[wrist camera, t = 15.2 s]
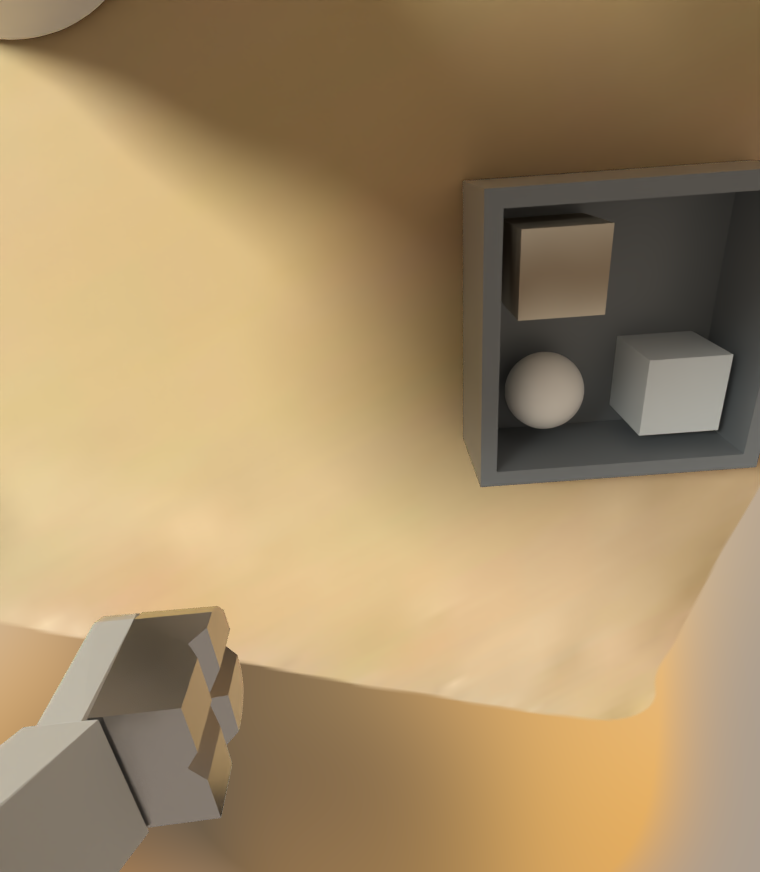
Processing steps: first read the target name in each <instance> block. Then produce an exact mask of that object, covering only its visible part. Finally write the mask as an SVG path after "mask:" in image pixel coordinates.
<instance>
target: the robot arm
mask: <svg viewBox="0 0 760 872" xmlns="http://www.w3.org/2000/svg"><path fill="white" fill-rule="evenodd" d="M103 1H105V0H0V39H7V40H13V39H28V38H35V37H40V36H44V35H48V34H51V33H54V32H57V31H60V30H62V29H64V28H67V27H69V26H71V25H73V24H74V23H76V22H78V21H80V20H81V19H83V18H84V17H86V16H87V15H89V14H90V13H91V12H92V11H94V10H95V9H96V8H97V7H98V6H99V5H100V4H101V3H102V2H103ZM229 631H230V628H229V625H228V622H227V619H226V616H225V613H224V610H223V609H221V608H220V607H218V606H212V607H200V608H189V609H177V610H165V611H153V612H142V613H141V614H126V615H114V616H104V617H102V618H101V619H99V620H98V621H96V622H95V623H94V624H93V626H92V627H91V629H90V631H89V633H88V634H87V636H86V638H85V640H84V642H83V644H82V645H81V647H80V649H79V651H78V652H77V654H76V656H75V658H74V659H73V661H72V663H71V665H70V667H69V669H68V670H67V672H66V674H65V676H64V677H63V679H62V681H61V683H60V684H59V686H58V688H57V690H56V692H55V693H54V695H53V697H52V699H51V701H50V702H49V704H48V706H47V708H46V710H45V711H44V713H43V715H42V717H41V718H40V720H39V722H38V724H37V726H31V727H23V728H22V729H21V730H19V731H18V732H17V733H15V734H14V735H13V736H12V737H10V738H9V739H8V740H7V741H6V742H4V743H3V744H2V745H0V872H119V871H120V869H121V868H122V867H123V865H124V864H125V863H126V861H127V860H128V859H129V857H130V856H131V855H132V854H133V852H134V851H135V849H136V848H137V847H138V846H139V844H140V843H141V842H142V840H143V839H144V838H145V836H146V835H147V834H148V829H147V828H148V827H155V826H162V825H170V824H178V823H185V822H192V821H200V820H208V819H215V818H221V815H222V810H223V806H224V800H225V796H226V791H227V786H228V782H229V777H230V772H231V767H232V762H231V759H230V755H229V752H228V749H227V746H226V744H228V743H229V741H230V740H231V739H232V738H233V737H234V736H235V735H236V734H237V732H238V731H239V728H240V722H241V717H242V711H243V679H242V672H241V667H240V663H239V659H238V655H237V654H235V653H234V652H233V651H231V650H230V649H229V648H227V647H226V643H227V639H228V635H229Z"/></svg>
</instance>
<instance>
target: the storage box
mask: <svg viewBox="0 0 760 872" xmlns="http://www.w3.org/2000/svg"><path fill="white" fill-rule="evenodd" d="M573 213H585V214H588V215H592V216H595V217H598V218H601V219H604V220H607V221H610V222H613V223H615V224H614V233H613V243H612V252H611V262H610V271H609V281H608V290H607V300H606V310H605V315H593V316H579V317H565V318H551V319H537V320H523V321H518V320H517V319H516V318H515V317H514V316H513V315H512V314H511V312H510V311H509V310H508V309H507V308H506V307H505V306H504V305H503V303H502V302H501V290H502V252H503V218H517V217H531V216H545V215H559V214H573ZM680 331H693V332H695V333H697V334H698V335H700V336H702V337H704V338H705V339H707V340H709V341H711V342H712V343H714V344H716V345H718V346H719V347H721V348H723V349H725V350H726V351H728V352H730V353H732V354H733V360H732V365H731V369H730V374H729V379H728V384H727V389H726V393H725V398H724V403H723V408H722V413H721V417H720V422H719V427H718V430H710V431H697V432H683V433H669V434H655V435H641V436H639V435H638V434H637V433H636V432H635V431H634V430H633V429H632V428H631V427H630V426H629V424H628V423H627V422H626V421H625V420H624V419H623V418H622V417H621V416H620V415H619V414H618V413H617V412H616V411H615V410H614V409H613V408H612V407H611V406H610V405H609V403H610V395H611V386H612V377H613V369H614V360H615V351H616V343H617V336H624V335H638V334H652V333H666V332H680ZM537 352H553V353H557V354H560V355H562V356H564V357H566V358H568V359H569V360H570V361H571V362H573V363H574V364H575V366H576V367H577V368H578V370H579V371H580V373H581V375H582V378H583V382H584V397H583V401H582V404H581V406H580V408H579V410H578V411H577V412H576V414H575V415H574V416H573V417H572V418H571V419H570V420H569V421H567V422H566V423H564V424H562V425H560V426H557V427H554V428H548V429H539V428H534V427H530V426H528V425H525V424H524V423H522V422H521V421H519V420H518V419H517V418H516V417H515V416H514V415H513V414H512V412H511V411H510V409H509V408H508V405H507V403H506V399H505V383H506V379H507V377H508V374H509V372H510V371H511V369H512V368H513V367H514V365H515V364H516V363H517V362H519V361H520V360H521V359H523V358H524V357H526V356H528V355H530V354H533V353H537ZM463 439H464V442H465V445H466V448H467V450H468V453H469V456H470V459H471V462H472V465H473V467H474V470H475V473H476V476H477V479H478V481H479V484H480V487H488V486H502V485H516V484H530V483H543V482H557V481H571V480H585V479H598V478H612V477H626V476H640V475H654V474H667V473H681V472H695V471H709V470H723V469H736V468H750V467H756V466H757V462H758V458H759V454H760V161H759V160H745V161H731V162H717V163H703V164H689V165H674V166H660V167H646V168H632V169H618V170H604V171H590V172H576V173H562V174H548V175H534V176H520V177H506V178H492V179H478V180H464V181H463Z"/></svg>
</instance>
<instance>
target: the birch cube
mask: <svg viewBox="0 0 760 872" xmlns="http://www.w3.org/2000/svg"><path fill="white" fill-rule="evenodd" d="M614 224H615V223H613V222H610V221H607V220H604V219H601V218H598V217H595V216H592V215H588V214H585V213H573V214H559V215H545V216H531V217H517V218H503V252H502V290H501V302H502V303H503V305H504V306H505V307H506V308H507V309H508V310H509V311H510V312H511V314H512V315H513V316H514V317H515V318H516V319H517V320H518V321H523V320H537V319H551V318H565V317H579V316H593V315H605V310H606V300H607V290H608V281H609V271H610V262H611V252H612V243H613V233H614Z"/></svg>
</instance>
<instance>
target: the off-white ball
mask: <svg viewBox="0 0 760 872" xmlns="http://www.w3.org/2000/svg"><path fill="white" fill-rule="evenodd" d="M583 397H584V382H583V378H582V375H581V373H580V371H579V370H578V368H577V367H576V366H575V364H574V363H573V362H571V361H570V360H569V359H568V358H566V357H564V356H562V355H560V354H557V353H553V352H537V353H533V354H530V355H528V356H526V357H524V358H523V359H521V360H520V361H519V362H517V363H516V364H515V365H514V367H513V368H512V369H511V371H510V372H509V374H508V377H507V379H506V383H505V399H506V403H507V405H508V408H509V409H510V411H511V412H512V414H513V415H514V416H515V417H516V418H517V419H518V420H519V421H521V422H522V423H524V424H525V425H528V426H530V427H534V428H539V429H548V428H554V427H557V426H560V425H562V424H564V423H566V422H567V421H569V420H570V419H571V418H572V417H573V416H574V415H575V414H576V412H577V411H578V410H579V408H580V406H581V404H582V401H583Z"/></svg>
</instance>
